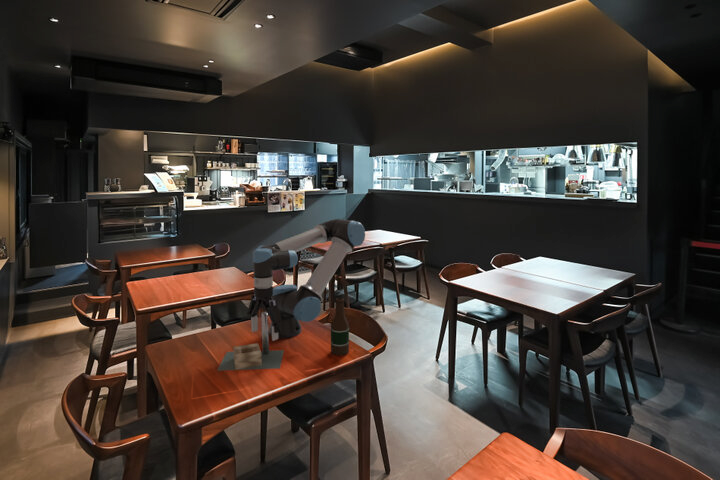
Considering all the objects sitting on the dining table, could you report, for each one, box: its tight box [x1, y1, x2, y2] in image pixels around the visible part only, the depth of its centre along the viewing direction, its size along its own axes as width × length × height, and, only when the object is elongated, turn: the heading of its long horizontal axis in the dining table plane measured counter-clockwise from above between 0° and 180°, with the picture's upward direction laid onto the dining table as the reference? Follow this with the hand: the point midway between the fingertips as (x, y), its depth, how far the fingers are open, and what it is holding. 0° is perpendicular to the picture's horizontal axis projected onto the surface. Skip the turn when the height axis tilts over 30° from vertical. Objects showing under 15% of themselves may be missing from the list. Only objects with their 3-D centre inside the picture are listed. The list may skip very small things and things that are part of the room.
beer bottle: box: [330, 297, 350, 357], centre depth 167 cm, size 8×8×24 cm
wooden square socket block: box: [232, 343, 262, 371], centre depth 159 cm, size 10×10×5 cm
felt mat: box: [216, 349, 285, 372], centre depth 161 cm, size 24×16×1 cm, turn 95°
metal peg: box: [260, 311, 270, 355], centre depth 165 cm, size 3×3×18 cm
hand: (264, 335), depth 165 cm, fingers open, 13 cm apart
